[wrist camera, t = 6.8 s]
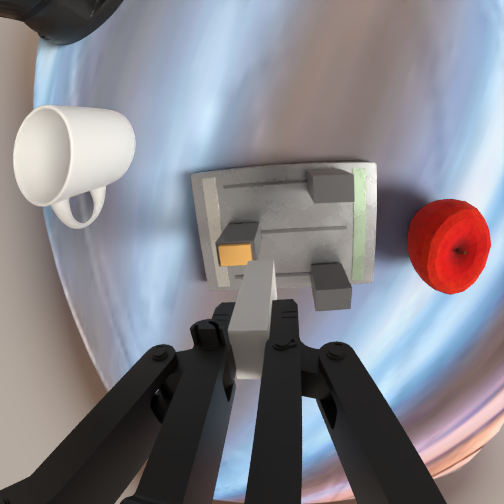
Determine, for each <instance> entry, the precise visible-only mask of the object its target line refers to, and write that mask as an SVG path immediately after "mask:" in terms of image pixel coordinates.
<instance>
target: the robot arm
mask: <svg viewBox="0 0 504 504" xmlns="http://www.w3.org/2000/svg"><path fill="white" fill-rule="evenodd" d="M122 1H123V0H0V17H4V18H10V19H14V20H19V21H23V22H24V23H25V24H26V25H28V26H29V27H30V28H31V29H32V30H34V31H35V32H37V33H38V35H39V36H40V37H41V38H42V39H43V40H45V41H47V42H51V43H54V44H58V45H66V44H70V43H73V42H76V41H78V40H80V39H82V38H84V37H85V36H87V35H89V34H90V33H91V32H93V31H94V30H95V29H97V28H98V27H99V26H100V25H101V24H103V23H104V22H105V21H106V20H107V19H108V18H109V17H110V16H111V15H112V14H113V12H114V11H115V10H116V9H117V8H118V7H119V5H120V4H121V3H122ZM190 331H191V335H192V338H193V342H194V347H193V348H192V349H190V350H186V351H180V352H175V349H174V348H173V347H172V346H170V345H165V344H162V345H157V346H154V347H152V348H151V349H149V350H148V351H147V352H146V353H145V354H144V355H143V356H142V357H141V358H140V359H139V360H138V361H137V362H136V363H135V365H134V366H133V367H132V368H131V369H130V370H129V371H128V372H127V373H126V374H125V375H124V376H123V377H122V378H121V379H120V380H119V381H118V383H117V384H116V385H115V386H114V387H113V388H112V389H111V390H110V391H109V392H108V393H107V394H106V395H105V396H104V397H103V398H102V400H101V401H100V402H99V403H98V404H97V405H96V406H95V407H94V408H93V409H92V410H91V411H90V412H89V414H87V416H86V417H85V418H84V419H83V420H82V421H81V422H80V423H79V424H78V425H77V426H76V427H75V429H73V430H72V432H71V433H70V434H69V435H68V436H67V437H66V438H65V439H64V440H63V441H62V442H61V443H60V445H59V446H58V447H57V448H56V449H55V450H54V451H53V452H52V453H51V454H50V455H49V457H47V459H46V460H45V461H44V462H43V463H42V464H41V465H40V466H39V467H38V468H37V469H36V471H35V472H34V473H33V474H32V475H31V476H30V477H28V478H25V479H24V480H22V481H19V482H17V483H15V484H13V485H11V486H9V487H6V488H4V489H2V490H0V504H114V503H115V502H116V501H117V500H118V498H119V497H120V495H121V494H122V493H123V492H124V490H125V489H126V488H127V486H128V485H129V484H130V482H131V481H132V480H133V478H134V477H135V476H136V474H137V473H138V471H139V470H140V469H141V467H142V466H143V465H144V463H145V462H146V460H147V459H148V458H149V459H148V462H147V464H146V467H145V469H144V472H143V475H142V477H141V480H140V482H139V485H138V488H137V490H136V492H135V494H134V495H133V496H130V497H127V498H125V499H123V500H122V501H121V503H120V504H212V500H213V495H214V491H215V486H216V481H217V477H218V472H219V467H220V462H221V458H222V453H223V448H224V443H225V438H226V434H227V429H228V424H229V419H230V414H231V409H232V404H233V399H234V394H235V389H236V385H235V380H234V378H235V373H236V374H237V379H261V386H260V394H259V402H258V410H257V418H256V426H255V433H254V441H253V448H252V455H251V462H250V469H249V476H248V483H247V490H246V496H245V503H244V504H301V486H302V396H305V397H310V398H315V399H316V402H317V404H318V407H319V409H320V411H321V414H322V416H323V419H324V421H325V424H326V426H327V429H328V431H329V434H330V436H331V439H332V441H333V444H334V446H335V449H336V451H337V454H338V456H339V459H340V461H341V464H342V466H343V469H344V471H345V474H346V476H347V479H348V481H349V484H350V486H351V489H352V491H353V494H354V496H355V499H356V501H357V504H447V503H446V502H445V500H444V498H443V496H442V494H441V493H440V491H439V489H438V487H437V485H436V484H435V482H434V480H433V478H432V476H431V475H430V473H429V471H428V470H427V468H426V466H425V464H424V463H423V461H422V459H421V457H420V456H419V454H418V452H417V451H416V449H415V447H414V446H413V444H412V442H411V441H410V439H409V437H408V436H407V434H406V432H405V431H404V429H403V427H402V426H401V424H400V422H399V421H398V419H397V418H396V416H395V414H394V413H393V411H392V409H391V408H390V406H389V405H388V403H387V401H386V400H385V398H384V397H383V395H382V393H381V392H380V390H379V389H378V387H377V386H376V384H375V382H374V381H373V379H372V378H371V376H370V375H369V373H368V371H367V370H366V368H365V367H364V365H363V364H362V362H361V361H360V359H359V358H358V356H357V354H356V353H355V351H354V350H353V348H352V347H350V346H349V345H348V344H346V343H343V342H330V343H327V344H325V345H323V346H322V347H321V348H320V349H314V348H310V347H308V346H306V345H304V344H303V343H302V342H301V341H300V338H299V324H298V307H297V304H296V302H295V301H294V300H293V299H285V300H277V291H276V279H275V267H274V259H272V260H256V261H248V263H247V266H246V269H245V273H244V276H243V280H242V283H241V286H240V290H239V293H238V297H237V300H236V302H227V303H221V304H220V305H219V306H218V307H216V309H215V311H214V314H213V316H212V319H206V320H201V321H198V322H196V323H195V324H193V325H192V326H191V328H190ZM158 389H159V390H158ZM157 390H158V391H157ZM156 391H157V392H156Z"/></svg>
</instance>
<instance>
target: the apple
mask: <svg viewBox="0 0 504 504" xmlns="http://www.w3.org/2000/svg"><path fill="white" fill-rule="evenodd" d="M407 245H408V253H409V256H410V260H411V263H412V265H413V267H414V269H415V271H416V272H417V273H418V275H419V276H420V277H421V278H422V280H423V281H425V282H426V283H427V284H428V285H429V286H430V287H432V288H433V289H435V290H437V291H440V292H443V293H446V294H450V295H451V294H455V293H459V292H463V291H465V290H466V289H467V288H469V287H470V286H471V285H472V284H473V283H474V282H475V281H476V280H477V278H478V277H479V275H480V274H481V272H482V271H483V269H484V267H485V264H486V261H487V258H488V254H489V251H490V247H491V240H490V233H489V228H488V226H487V223H486V221H485V219H484V217H483V216H482V215H481V213H480V212H479V211H478V209H477V208H475V207H474V206H472V205H470V204H469V203H467V202H466V201H460V200H455V199H444V200H437V201H434V202H431V203H428V204H427V205H425V206H424V207H423V208H421V209H420V210H419V211H418V212H417V213H416V214H415V216H414V217H413V218H412V220H411V221H410V225H409V230H408V241H407Z"/></svg>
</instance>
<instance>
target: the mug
mask: <svg viewBox="0 0 504 504" xmlns="http://www.w3.org/2000/svg"><path fill="white" fill-rule="evenodd" d="M134 153H135V135H134V131H133V128H132V126H131V124H130V123H129V121H128V120H127V119H126V118H125V117H124V116H123V115H122V114H120V113H118V112H116V111H113V110H108V109H100V108H90V107H77V106H60V105H43V106H40V107H38V108H36V109H34V110H33V111H32V112H31V113H30V114H29V115H28V116H27V117H26V118H25V119H24V121H23V123H22V124H21V126H20V128H19V131H18V133H17V136H16V140H15V144H14V151H13V167H14V174H15V178H16V182H17V184H18V186H19V189H20V191H21V192H22V194H23V195H24V197H25V198H26V199H27V200H28V201H29V202H31V203H32V204H34V205H36V206H41V207H45V206H49V205H50V206H51V207H52V209H53V211H54V212H55V214H56V215H57V217H58V218H59V219H60V220H61V221H62V222H63V223H64V224H65V225H67V226H68V227H70V228H73V229H81V228H84V227H86V226H88V225H90V224H91V223H92V222H93V221H94V220H95V219H96V218H97V217H98V215H99V213H100V212H101V209H102V207H103V204H104V200H105V192H106V186H107V185H109V184H111V183H113V182H115V181H117V180H118V179H119V178H121V177H122V176H123V175H124V174H125V173H126V171H127V170H128V168H129V167H130V165H131V163H132V160H133V157H134ZM88 191H90V193H91V196H92V198H93V203H94V210H93V214H92V216H91V218H90V219H89V220H88V221H87V222H85V223H80V222H78V221H76V220H75V219H74V217H73V215H72V213H71V210H70V205H69V198H70V197H73V196H76V195H79V194H82V193H85V192H88Z"/></svg>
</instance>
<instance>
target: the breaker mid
mask: <svg viewBox="0 0 504 504" xmlns="http://www.w3.org/2000/svg"><path fill="white" fill-rule="evenodd" d="M261 243H262V242H261V231H260V222H257V223H243V224H229V225H227V226H226V227H225V229H224V230H223V232H222V233H221V235H220V236H219V238H218V239H217V241H216V242H215V245H216V251H217V258H218V264H219V267H222V266H244V265H247V263H248V261H256V260H258V257H259V252H260V248H261Z"/></svg>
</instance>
